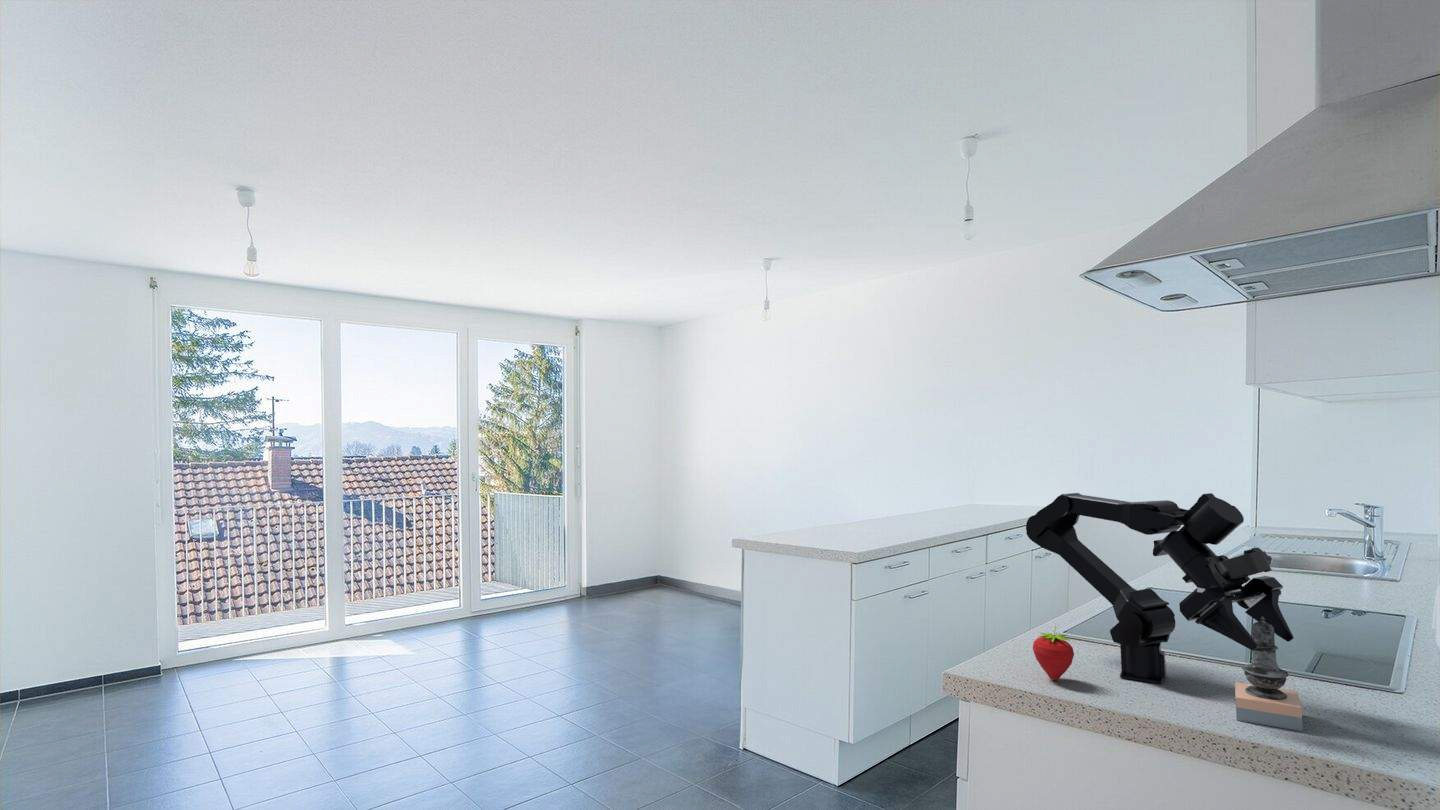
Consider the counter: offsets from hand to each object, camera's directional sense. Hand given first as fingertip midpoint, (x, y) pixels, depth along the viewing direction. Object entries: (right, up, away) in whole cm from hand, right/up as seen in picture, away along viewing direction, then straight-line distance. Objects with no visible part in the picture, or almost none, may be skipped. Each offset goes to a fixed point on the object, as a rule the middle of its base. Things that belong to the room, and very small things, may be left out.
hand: (1273, 644), depth 112 cm
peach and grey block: (0, -12, +1) cm, 12 cm away
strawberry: (-25, -13, +19) cm, 34 cm away
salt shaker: (0, -8, +1) cm, 8 cm away
